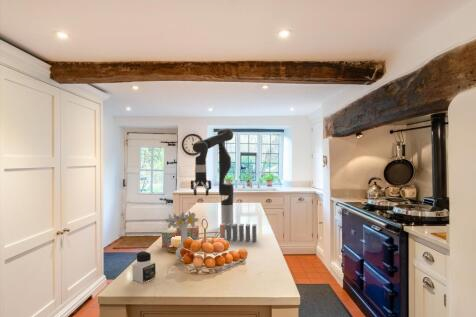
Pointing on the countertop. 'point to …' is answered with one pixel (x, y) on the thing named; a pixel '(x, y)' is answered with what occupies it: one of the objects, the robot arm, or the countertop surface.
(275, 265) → the countertop surface
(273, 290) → the countertop surface
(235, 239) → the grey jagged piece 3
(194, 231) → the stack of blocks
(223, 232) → the terracotta domino
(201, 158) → the robot arm
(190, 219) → the flower vase
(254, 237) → the slate domino
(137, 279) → the medicine bottle
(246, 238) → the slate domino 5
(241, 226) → the slate domino
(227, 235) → the slate domino
